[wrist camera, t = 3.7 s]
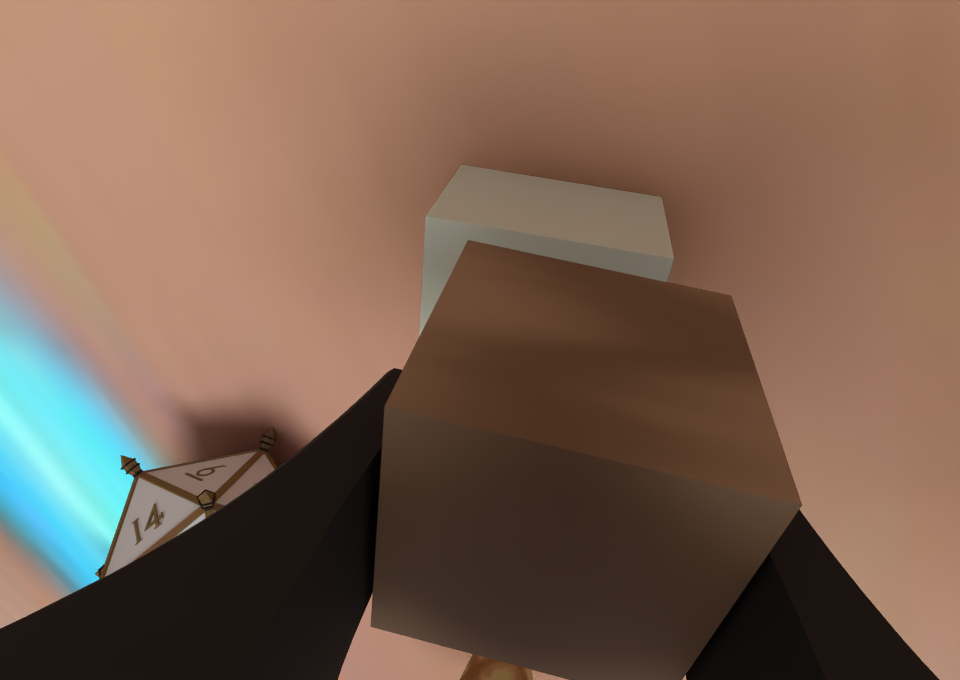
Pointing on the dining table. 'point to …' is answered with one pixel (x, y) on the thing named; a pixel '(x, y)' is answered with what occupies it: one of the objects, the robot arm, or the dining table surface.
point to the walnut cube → (575, 470)
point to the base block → (543, 226)
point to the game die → (180, 499)
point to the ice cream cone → (494, 670)
